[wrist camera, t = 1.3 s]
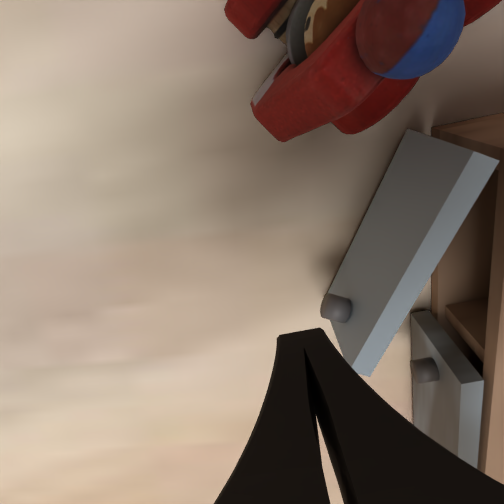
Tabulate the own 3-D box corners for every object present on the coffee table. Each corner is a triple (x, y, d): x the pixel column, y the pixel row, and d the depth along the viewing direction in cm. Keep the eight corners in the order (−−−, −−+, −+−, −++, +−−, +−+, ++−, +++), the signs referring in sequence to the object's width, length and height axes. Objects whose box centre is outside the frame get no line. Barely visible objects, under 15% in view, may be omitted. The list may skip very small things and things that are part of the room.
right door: (426, 135, 18) (499, 160, 13) (339, 306, 22) (369, 376, 17) (386, 120, 17) (445, 140, 12) (305, 296, 21) (325, 365, 16)
